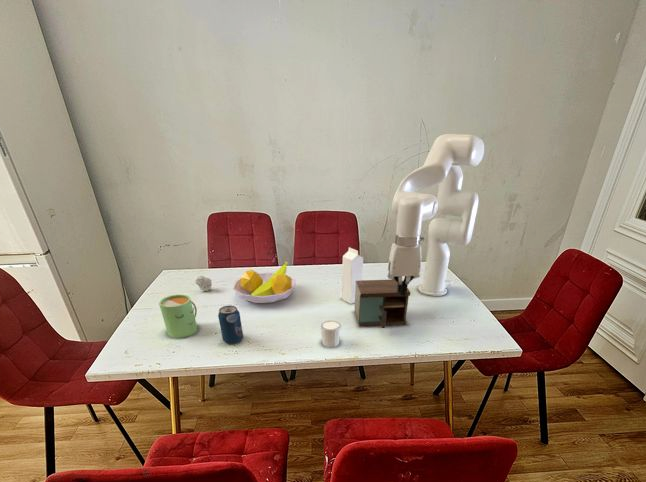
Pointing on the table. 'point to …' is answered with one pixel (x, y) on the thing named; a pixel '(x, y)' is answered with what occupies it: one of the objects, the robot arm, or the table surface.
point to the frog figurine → (203, 283)
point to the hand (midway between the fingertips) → (401, 293)
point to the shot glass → (330, 333)
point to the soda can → (230, 324)
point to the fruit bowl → (265, 286)
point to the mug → (178, 315)
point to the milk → (351, 274)
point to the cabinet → (393, 300)
